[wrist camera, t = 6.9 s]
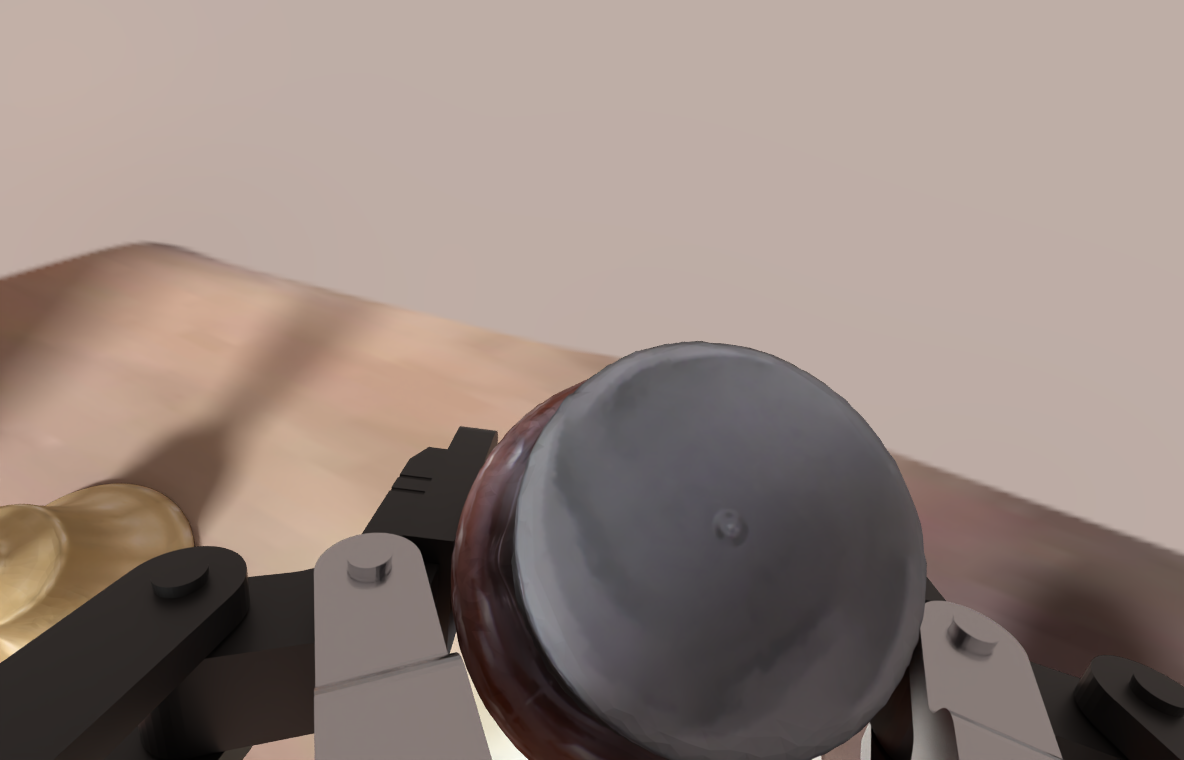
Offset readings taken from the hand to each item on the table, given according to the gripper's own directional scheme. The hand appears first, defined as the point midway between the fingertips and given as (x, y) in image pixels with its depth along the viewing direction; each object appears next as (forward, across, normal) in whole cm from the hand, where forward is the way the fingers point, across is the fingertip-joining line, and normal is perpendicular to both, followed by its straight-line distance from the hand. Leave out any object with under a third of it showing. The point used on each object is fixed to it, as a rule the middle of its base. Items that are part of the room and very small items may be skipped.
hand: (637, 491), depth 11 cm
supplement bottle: (+3, 0, +5) cm, 6 cm away
